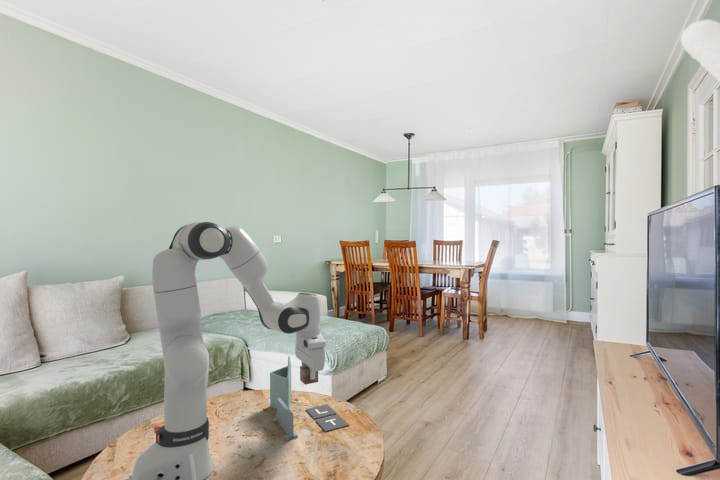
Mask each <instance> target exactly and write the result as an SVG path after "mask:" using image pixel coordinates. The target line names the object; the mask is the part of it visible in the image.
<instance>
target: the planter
mask: <svg viewBox="0 0 720 480" xmlns="http://www.w3.org/2000/svg"><path fill="white" fill-rule="evenodd" d="M269 395H270V396H269V399H270V400H269V401H270V402H269V403H270V405H269V407H270V406H271V408H272V409H274V410H276V409H277V401H276V398H278V397H280V398H281V400H282V401H283V402H284V403H285V405H286V406H287V407H288V408H289V409H290V410H291V403H292V363H291V357H290V355H288V357H287V366H284V367H281V368H279V369H276V370H273V371H270V372H269Z"/></svg>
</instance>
